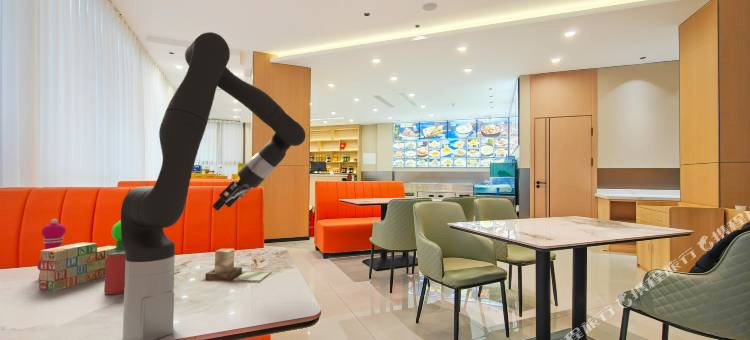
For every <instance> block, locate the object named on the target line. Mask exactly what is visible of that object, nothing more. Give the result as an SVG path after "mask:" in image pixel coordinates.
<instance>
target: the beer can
mask: <svg viewBox="0 0 750 340" xmlns="http://www.w3.org/2000/svg"><path fill="white" fill-rule="evenodd" d="M125 258H126V254H125V251H124V250H121V251H114V252H110V253H108V256H107V258H106V261H105V276H104V290H103V291H104V292H103V293H104V294H105V295H111V296H113V295H121V294H124V285H125V260H126V259H125Z"/></svg>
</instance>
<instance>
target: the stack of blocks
mask: <svg viewBox="0 0 750 340" xmlns="http://www.w3.org/2000/svg"><path fill="white" fill-rule="evenodd" d="M114 251H116V245H106V246H101V247H98V243H96V242H77V243H72V244H71V243H70V244H66V245H63V246H62V245H61V247H56V248H51V249H45V248H44V249H42V250H40V254H39V255H40V258H39V260H40V270H39V274H40V279H39V280H38V281H39V285H38V288H39V289H38V290H44V291H45V290H46V291H53V290H55V291H58V289H59V290H62V289H64V287H66V288H69V287H73V286H75V284H76V285H79V283H80V284H83V283H86V282H90V281H92V280H96V279H99V278H102V276H103V277H105V261H106V258H107V256H108V253H110V252H114ZM95 278H96V279H95ZM72 285H73V286H72ZM68 286H69V287H68Z"/></svg>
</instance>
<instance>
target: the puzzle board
mask: <svg viewBox="0 0 750 340" xmlns="http://www.w3.org/2000/svg"><path fill="white" fill-rule="evenodd" d="M272 274H273V271H247V270H245V271H243V267H242V266H234V270H233V271H232V272H230V273H215V268H213V269H212V270H209V271H208V272H207V271H206V273H205V277H204V278H203V279H201V280H200V282H211V283H213V282H215V283H217V282H218V283H219V282H220V283H246V284H247V283H251V284H261V283H262V281H264V280H265V279H267V278H268V277H269V276H271V275H272Z"/></svg>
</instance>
